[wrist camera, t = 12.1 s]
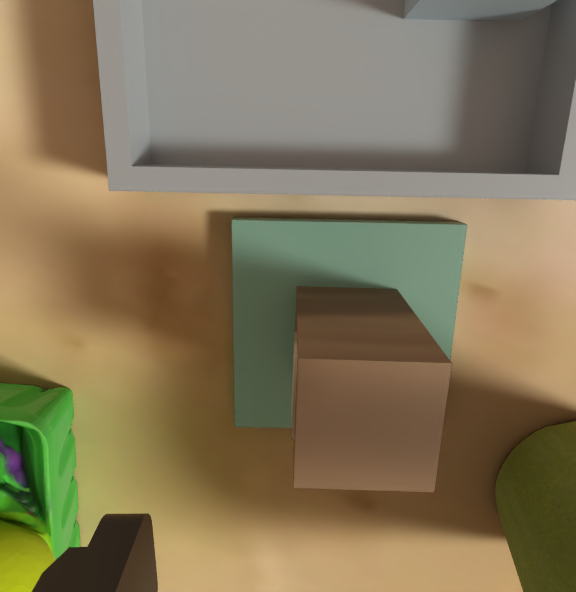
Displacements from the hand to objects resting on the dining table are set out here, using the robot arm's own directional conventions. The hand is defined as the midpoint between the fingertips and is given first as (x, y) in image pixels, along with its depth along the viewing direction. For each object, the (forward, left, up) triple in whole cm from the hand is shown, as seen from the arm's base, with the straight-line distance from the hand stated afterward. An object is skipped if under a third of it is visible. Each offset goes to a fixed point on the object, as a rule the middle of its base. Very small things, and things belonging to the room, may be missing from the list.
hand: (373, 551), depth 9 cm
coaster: (+1, 0, -13) cm, 13 cm away
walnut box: (+1, 0, -12) cm, 12 cm away
